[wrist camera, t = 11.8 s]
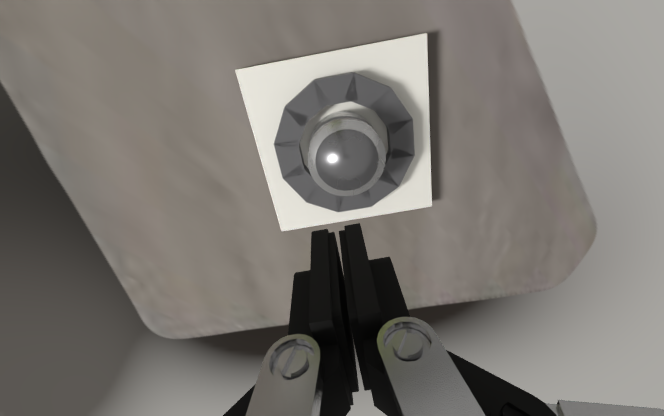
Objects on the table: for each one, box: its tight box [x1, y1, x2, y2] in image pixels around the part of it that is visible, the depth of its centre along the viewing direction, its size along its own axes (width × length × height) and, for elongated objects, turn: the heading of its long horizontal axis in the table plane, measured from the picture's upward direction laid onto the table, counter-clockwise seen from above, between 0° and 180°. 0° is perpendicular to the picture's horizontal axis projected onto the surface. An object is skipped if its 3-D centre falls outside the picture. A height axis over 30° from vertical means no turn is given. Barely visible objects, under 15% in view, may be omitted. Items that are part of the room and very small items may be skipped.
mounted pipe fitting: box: [235, 33, 432, 231], centre depth 28 cm, size 15×15×2 cm
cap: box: [308, 111, 386, 196], centre depth 26 cm, size 6×6×4 cm
